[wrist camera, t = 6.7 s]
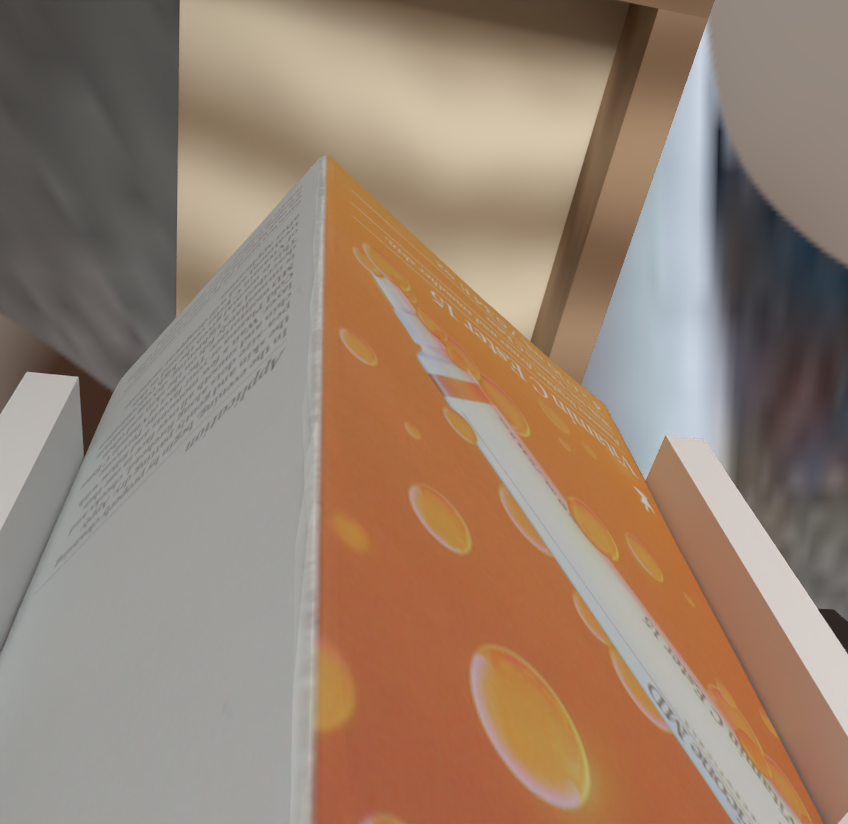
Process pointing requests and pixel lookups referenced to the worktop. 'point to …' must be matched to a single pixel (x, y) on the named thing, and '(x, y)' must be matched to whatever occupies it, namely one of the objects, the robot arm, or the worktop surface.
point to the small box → (369, 575)
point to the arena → (441, 135)
